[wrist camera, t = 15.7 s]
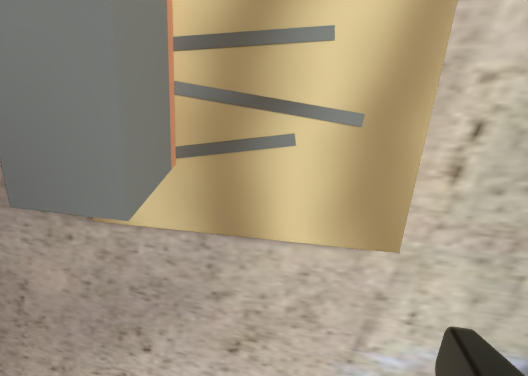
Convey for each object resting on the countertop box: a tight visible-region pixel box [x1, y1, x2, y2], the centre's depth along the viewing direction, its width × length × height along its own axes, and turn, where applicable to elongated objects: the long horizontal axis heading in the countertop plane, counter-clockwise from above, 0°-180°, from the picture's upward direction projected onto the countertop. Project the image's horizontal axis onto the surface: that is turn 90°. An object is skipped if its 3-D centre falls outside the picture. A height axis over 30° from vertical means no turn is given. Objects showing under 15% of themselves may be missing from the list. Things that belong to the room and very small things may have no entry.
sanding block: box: [0, 0, 176, 221], centre depth 15 cm, size 4×6×5 cm, turn 176°
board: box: [92, 0, 458, 253], centre depth 17 cm, size 14×13×1 cm
